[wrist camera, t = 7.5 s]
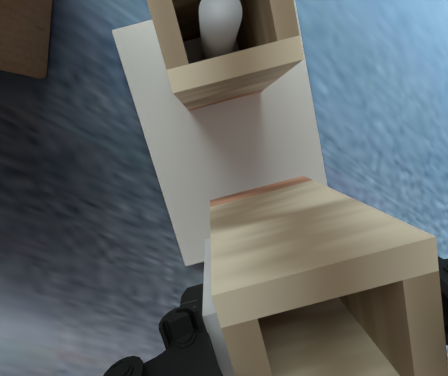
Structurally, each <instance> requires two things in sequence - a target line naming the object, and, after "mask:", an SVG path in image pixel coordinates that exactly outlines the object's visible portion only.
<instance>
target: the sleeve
mask: <svg viewBox="0 0 448 376" xmlns="http://www.w3.org/2000/svg"><path fill="white" fill-rule="evenodd" d="M210 237H211V296H212V300H213V303H214V306H215V310H216V313H217V316H218V320H219V323H220V326H221V330H222V333H223V336H224V340H225V343H226V346H227V350H228V353H229V356H230V360H231V363H232V366H233V370H234V373H235V376H448V363H447V352H446V341H445V331H444V320H443V309H442V298H441V287H440V277H439V266H438V255H437V244H436V236H433V235H431V234H429V233H427V232H425V231H423V230H420V229H418V228H416V227H414V226H412V225H410V224H407V223H405V222H403V221H401V220H399V219H397V218H394V217H392V216H390V215H388V214H386V213H383V212H381V211H379V210H377V209H375V208H373V207H370V206H368V205H366V204H364V203H362V202H360V201H357V200H355V199H353V198H351V197H349V196H347V195H344V194H342V193H340V192H338V191H336V190H334V189H331V188H329V187H327V186H325V185H323V184H321V183H318V182H316V181H314V180H312V179H310V178H308V177H305V176H300V177H296V178H293V179H289V180H285V181H281V182H277V183H274V184H270V185H266V186H262V187H258V188H255V189H251V190H247V191H243V192H239V193H236V194H232V195H228V196H224V197H220V198H217V199H213V200H210Z"/></svg>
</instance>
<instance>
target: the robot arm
mask: <svg viewBox="0 0 448 376" xmlns="http://www.w3.org/2000/svg"><path fill="white" fill-rule="evenodd" d="M438 266H439V277H440V287H441V298H442V309H443V320H444V331H445V341H446V345H448V259H442V258H440V257H438ZM159 331H160V334H161V336H162V339H163V342H164V345H165V348H166V350H165V351H164V352H163V353H162V354H160V355H158V356H157V357H155V358H153V359H151V360H149V361H148V362H146V363H144V364H143V361H142V360H141V359H140V357H136V356H130V357H126V358H123V359H121V360H119V361H118V362H116V363H115V364H113V365H112V366H111V367H110V368H109V369H108V370H107V371H106V372H105V374H104V376H235V373H234V370H233V366H232V363H231V360H230V356H229V353H228V350H227V346H226V343H225V340H224V336H223V333H222V330H221V326H220V323H219V320H218V316H217V313H216V310H215V306H214V303H213V300H212V296H211V238H209V239H205V258H204V283H203V284H200V285H196V286H192V287H189V288H187V289H186V290H185V292H184V293H183V295H182V297H181V305H180V307H178V308H175V309H173V310H172V311H170V312H168V313H167V314H166V315H165V316H164V317H163V318H162V319H161V321H160V323H159Z"/></svg>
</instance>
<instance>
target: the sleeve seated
mask: <svg viewBox="0 0 448 376" xmlns="http://www.w3.org/2000/svg"><path fill="white" fill-rule="evenodd" d="M239 1H240V3H241V6H242V20H241V23H240V27H239V30H238V33H237V37H236V40H237V44H238V49H239V51H237V52H233V53H230V54H226V55H222V56H218V57H214V58H210V59H206V60H203V61H199V62H195V63H191V64H189V61H188V57H187V53H186V49H185V45H184V42H185V41H188V40H192V39H196V38H200V37H201V36H200V23H199V5H200V2H201V0H147V3H148V6H149V10H150V13H151V17H152V20H153V24H154V27H155V31H156V35H157V38H158V42H159V45H160V49H161V52H162V56H163V59H164V63H165V67H166V70H167V74H168V77H169V81H170V84H171V88H172V92H173V94H174V95H175V96H176V97H177V98H178V99H179V100H180V102H181V103H182V104H183V105H184V106H185V107H186V108H187V109H188V110H189V111H190V110H194V109H197V108H201V107H205V106H209V105H213V104H217V103H220V102H224V101H228V100H232V99H236V98H240V97H243V96H247V95H251V94H255V93H259V92H262V91H263V90H264V89H265V88H267V87H268V86H269V85H271V84H272V83H273V82H275V81H276V80H277V79H279V78H280V77H281V76H283V75H284V74H285V73H287V72H288V71H289V70H290V69H292V68H293V67H294V66H296V65H297V64H298V63H300V62H301V61H302V60H304V57H303V51H302V46H301V40H300V34H299V29H298V23H297V17H296V12H295V6H294V0H239Z"/></svg>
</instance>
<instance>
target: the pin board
mask: <svg viewBox="0 0 448 376" xmlns="http://www.w3.org/2000/svg"><path fill="white" fill-rule="evenodd" d="M294 6H295V12H296V17H297V23H298V29H299V34H300V40H301V46H302V51H303V57H304V60H302V61H301V62H300V63H298V64H297V65H296V66H294V67H293V68H292V69H290V70H289V71H288V72H287V73H285V74H284V75H283V76H281V77H280V78H279V79H277V80H276V81H275V82H273V83H272V84H271V85H269V86H268V87H267V88H265V89H264V90H263V91H262V92H259V93H255V94H251V95H247V96H243V97H240V98H236V99H232V100H228V101H224V102H220V103H217V104H213V105H209V106H205V107H201V108H197V109H194V110H190V111H189V110H188V109H187V108H186V107H185V106H184V105H183V104H182V103H181V102H180V100H179V99H178V98H177V97H176V96H175V95H174V94H173V92H172V88H171V84H170V81H169V77H168V74H167V70H166V67H165V63H164V59H163V56H162V52H161V49H160V45H159V42H158V38H157V35H156V31H155V27H154V24H153V20H149V21H145V22H141V23H138V24H134V25H130V26H126V27H122V28H118V29H114V30H112V33H113V36H114V40H115V43H116V46H117V49H118V52H119V56H120V59H121V62H122V65H123V68H124V72H125V75H126V78H127V81H128V84H129V88H130V91H131V94H132V97H133V100H134V104H135V107H136V110H137V113H138V116H139V120H140V123H141V126H142V129H143V132H144V136H145V139H146V142H147V145H148V148H149V152H150V155H151V158H152V161H153V164H154V167H155V171H156V174H157V177H158V180H159V183H160V187H161V190H162V193H163V196H164V199H165V203H166V206H167V209H168V212H169V215H170V219H171V222H172V225H173V228H174V231H175V235H176V238H177V241H178V244H179V247H180V251H181V254H182V257H183V260H184V263H185V266H189V265H192V264H196V263H200V262H204V258H205V239H209V238H211V237H210V200H213V199H217V198H220V197H224V196H228V195H232V194H236V193H239V192H243V191H247V190H251V189H255V188H258V187H262V186H266V185H270V184H274V183H277V182H281V181H285V180H289V179H293V178H296V177H300V176H305V177H308V178H310V179H312V180H314V181H316V182H318V183H321V184H323V185H325V186H327V180H326V174H325V169H324V163H323V157H322V152H321V146H320V140H319V134H318V129H317V123H316V117H315V112H314V106H313V100H312V95H311V89H310V83H309V77H308V72H307V66H306V60H305V55H304V49H303V43H302V37H301V32H300V26H299V20H298V15H297V9H296V3H295V0H294ZM241 20H242V6H241V3H240V1H239V0H201V2H200V5H199V23H200V36H201V37H200V38H196V39H192V40H188V41H185V42H184V45H185V49H186V53H187V57H188V61H189V64H191V63H195V62H199V61H203V60H206V59H210V58H214V57H218V56H222V55H226V54H230V53H233V52H237V51H239V49H238V44H237V40H236V37H237V33H238V30H239V27H240V23H241ZM327 187H328V186H327Z"/></svg>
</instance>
